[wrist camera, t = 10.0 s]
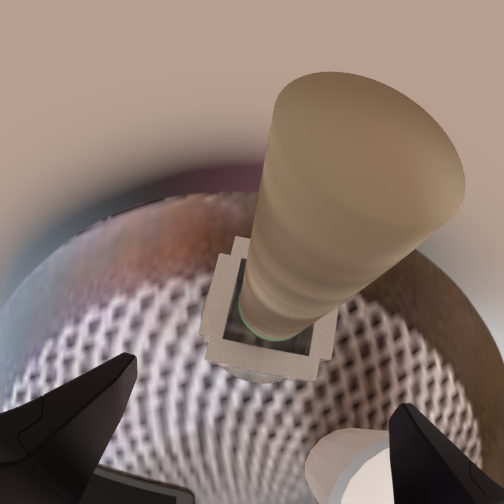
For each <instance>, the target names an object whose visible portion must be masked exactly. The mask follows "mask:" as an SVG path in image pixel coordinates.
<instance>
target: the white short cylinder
mask: <svg viewBox="0 0 504 504" xmlns="http://www.w3.org/2000/svg"><path fill="white" fill-rule="evenodd" d="M305 478H306V480H307V482H308V484H309V486H310V488H311V490H312V492H313V494H314V496H315V498H316V499H317V501H318V503H319V504H394V496H393V485H392V475H391V466H390V454H389V431H383V430H370V429H359V428H345V429H340V430H335V431H333V432H332V433H330V434H328V435H326V436H324V437H323V438H321V439H320V440H319V441H318V442H317V444H316V445H315V446H314V447H313V448H312V449H311V450H310V453H309V455H308V457H307V460H306V462H305Z"/></svg>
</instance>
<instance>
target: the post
mask: <svg viewBox="0 0 504 504" xmlns="http://www.w3.org/2000/svg"><path fill="white" fill-rule="evenodd" d="M464 194H465V177H464V171H463V167H462V164H461V161H460V158H459V156H458V153H457V152H456V149H455V147H454V146H453V144H452V142H451V140H450V139H449V137H448V136H447V134H446V133H445V132H444V130H443V129H442V128H441V127H440V126H439V124H438V123H437V122H436V121H435V120H434V119H433V118H432V117H431V116H430V115H429V114H428V113H427V112H426V111H425V110H424V109H423V108H422V107H420V106H419V105H418V104H416V103H415V102H414V101H412V100H411V99H410V98H408V97H407V96H405V95H404V94H402V93H400V92H399V91H397V90H395V89H393V88H391V87H389V86H387V85H385V84H383V83H380V82H378V81H375V80H373V79H369V78H366V77H363V76H359V75H355V74H350V73H342V72H320V73H313V74H309V75H305V76H303V77H300V78H298V79H296V80H294V81H292V82H291V83H289V84H288V85H287V86H286V87H285V88H284V89H283V90H282V91H281V93H280V94H279V96H278V98H277V100H276V102H275V106H274V112H273V117H272V122H271V128H270V133H269V139H268V144H267V150H266V155H265V161H264V166H263V172H262V177H261V183H260V189H259V194H258V200H257V205H256V211H255V216H254V222H253V227H252V233H251V239H250V244H249V250H248V255H247V261H246V267H245V272H244V278H243V284H242V288H241V291H240V294H239V301H238V308H239V313H240V317H241V320H242V322H243V324H244V325H245V327H246V328H247V329H248V330H249V331H250V332H251V333H252V334H253V335H254V336H256V337H258V338H260V339H262V340H266V341H272V342H277V341H284V340H288V339H290V338H293V337H294V336H296V335H298V334H299V333H301V332H302V331H303V330H304V329H305V328H307V327H308V326H310V325H311V324H313V323H314V322H316V321H317V320H319V319H320V318H322V317H323V316H325V315H326V314H328V313H329V312H331V311H332V310H334V309H335V308H337V307H338V306H339V305H341V304H342V303H344V302H345V301H347V300H348V299H349V298H351V297H352V296H354V295H355V294H356V293H358V292H359V291H361V290H362V289H363V288H365V287H366V286H367V285H369V284H370V283H372V282H373V281H374V280H376V279H377V278H378V277H380V276H381V275H382V274H384V273H385V272H386V271H388V270H389V269H390V268H391V267H393V266H394V265H395V264H397V263H398V262H399V261H400V260H402V259H403V258H404V257H406V256H407V255H408V254H409V253H411V252H412V251H413V250H414V249H416V248H417V247H418V246H419V245H420V244H422V243H423V242H424V241H425V240H427V239H428V238H429V237H430V236H431V235H433V234H434V233H435V232H436V231H437V230H438V229H440V228H441V227H442V226H443V225H444V224H445V223H447V222H448V221H449V220H450V219H451V218H452V217H453V216H454V215H455V214H456V213H457V211H458V210H459V208H460V206H461V204H462V202H463V198H464Z"/></svg>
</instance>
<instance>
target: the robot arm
mask: <svg viewBox="0 0 504 504" xmlns="http://www.w3.org/2000/svg"><path fill="white" fill-rule="evenodd" d="M136 379H137V358H136V356H135V355H133V354H130V353H127V352H124V353H122V354H120V355H118V356H116V357H114V358H112V359H110V360H109V361H107V362H105V363H103V364H101V365H99V366H97V367H96V368H94V369H92V370H90V371H88V372H86V373H84V374H82V375H81V376H79V377H77V378H75V379H73V380H71V381H69V382H67V383H65V384H63V385H62V386H60V387H58V388H56V389H54V390H52V391H50V392H48V393H46V394H44V397H43V396H40V397H38V398H36V399H34V400H32V401H30V402H28V403H26V404H24V405H21V406H19V407H16V408H14V409H11V410H9V411H6V412H3V413H0V504H78V503H79V501H80V499H81V497H82V495H83V493H84V491H85V489H86V487H87V485H88V483H89V481H90V479H91V477H92V475H93V473H94V471H95V469H96V467H97V465H98V463H99V461H100V459H101V457H102V455H103V453H104V451H105V449H106V447H107V445H108V443H109V441H110V439H111V437H112V435H113V433H114V432H115V430H116V428H117V426H118V424H119V422H120V420H121V418H122V416H123V413H124V411H125V408H126V405H127V403H128V400H129V397H130V395H131V392H132V389H133V387H134V384H135V382H136ZM389 454H390V466H391V475H392V485H393V496H394V504H504V488H503V487H501V486H500V485H499V484H497V483H496V482H495V481H494V480H492V479H491V478H490V477H489V476H487V475H486V474H485V473H484V472H483V471H482V470H481V469H479V468H478V467H477V466H476V465H475V464H474V463H473V462H472V461H471V460H469V458H468V457H467V456H466V455H465V454H464V453H463V452H462V451H460V450H459V449H458V448H457V447H456V446H455V445H454V444H453V443H452V442H451V441H450V440H449V439H448V438H447V437H446V436H445V435H444V434H443V433H442V432H441V431H440V430H439V429H438V428H436V427H435V426H434V425H433V424H432V423H431V422H430V421H429V420H428V419H427V418H426V417H425V416H424V415H423V414H422V413H421V412H420V411H419V410H418V409H417V408H416V407H415V406H414V405H412V404H410V403H402V404H400V405H399V406H398V408H397V409H396V410H395V412H394V413H393V414H392V416H391V417H390V419H389Z"/></svg>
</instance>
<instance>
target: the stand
mask: <svg viewBox="0 0 504 504" xmlns="http://www.w3.org/2000/svg"><path fill="white" fill-rule="evenodd" d="M249 244H250V239H248V238H244V237H239V236H235V240H234V244H233V247H232V251H231V255H227V254H222V253H219V256H218V260H217V264H216V267H215V271H214V275H213V279H212V282H211V286H210V290H209V292H208V294H207V296H206V298H205V301H204V304H203V308H202V314H201V325H200V329H199V335H200V336H201V338H202V340H203V341H204V342H205V343H206V346H207V351H206V356H205V360H206V361H207V362H209V363H212V364H217V365H220V366H221V367H222V368H223V369H225V370H226V371H227V372H229V373H230V374H232V375H234V376H235V377H238V378H240V379H243V380H246V381H250V382H255V383H274V382H279V381H283V380H286V379H291V380H298V381H316V379H317V374H318V368H319V362H323V361H328V360H331V358H332V352H333V345H334V338H335V331H336V324H337V316H338V308H339V306H338V307H337V308H335V309H334V310H332V311H331V312H329V313H328V314H326V315H325V316H323V317H322V318H320V319H319V320H317V321H316V322H314V323H313V324H311V325H310V326H308V327H307V328H305V329H304V330H303V331H302V332H301V333H299V334H298V335H296V336H294V337H293V338H290V339H288V340H284V341H277V342H272V341H266V340H262V339H260V338H258V337H256V336H254V335H253V334H252V333H251V332H250V331H249V330H248V329H247V328H246V327H245V325H244V324H243V322H242V320H241V317H240V313H239V308H238V301H239V294H240V291H241V288H242V284H243V278H244V272H245V267H246V261H247V255H248V250H249Z"/></svg>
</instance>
